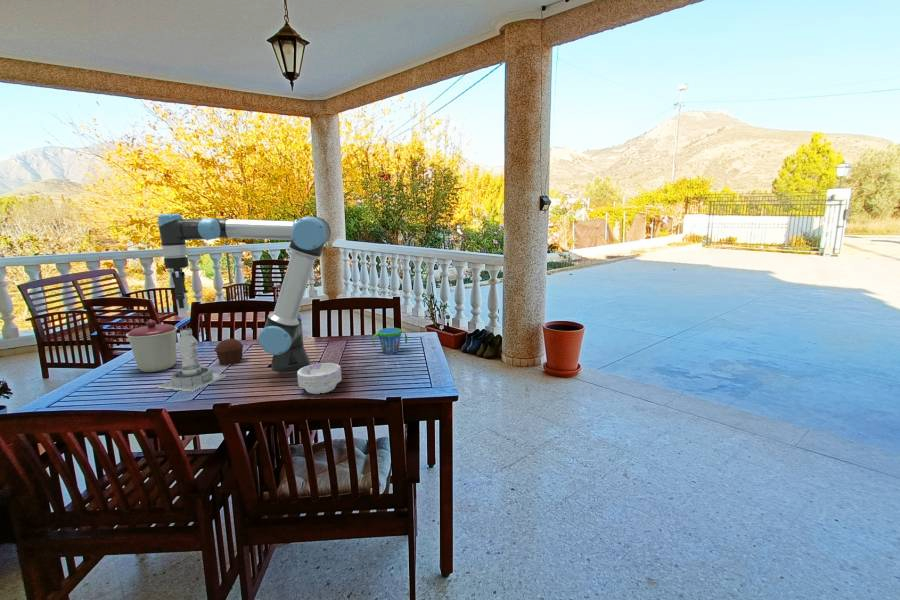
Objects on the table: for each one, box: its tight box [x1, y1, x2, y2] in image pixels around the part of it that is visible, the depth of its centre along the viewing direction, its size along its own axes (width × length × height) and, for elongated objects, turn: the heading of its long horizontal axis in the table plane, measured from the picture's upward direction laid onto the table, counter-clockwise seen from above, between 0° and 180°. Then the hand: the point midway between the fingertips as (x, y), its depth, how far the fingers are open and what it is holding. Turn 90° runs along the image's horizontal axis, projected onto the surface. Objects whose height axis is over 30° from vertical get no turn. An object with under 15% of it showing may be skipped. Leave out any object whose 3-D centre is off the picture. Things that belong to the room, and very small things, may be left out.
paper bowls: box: [296, 362, 342, 395], centre depth 160 cm, size 15×15×8 cm
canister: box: [125, 319, 178, 373], centre depth 186 cm, size 18×18×21 cm
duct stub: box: [157, 366, 227, 393], centre depth 170 cm, size 16×16×4 cm
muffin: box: [214, 338, 244, 366], centre depth 194 cm, size 12×11×10 cm
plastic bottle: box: [176, 328, 202, 378], centre depth 169 cm, size 6×7×20 cm
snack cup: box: [372, 327, 408, 354], centre depth 202 cm, size 16×10×10 cm
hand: (183, 313), depth 166 cm, fingers open, 13 cm apart
